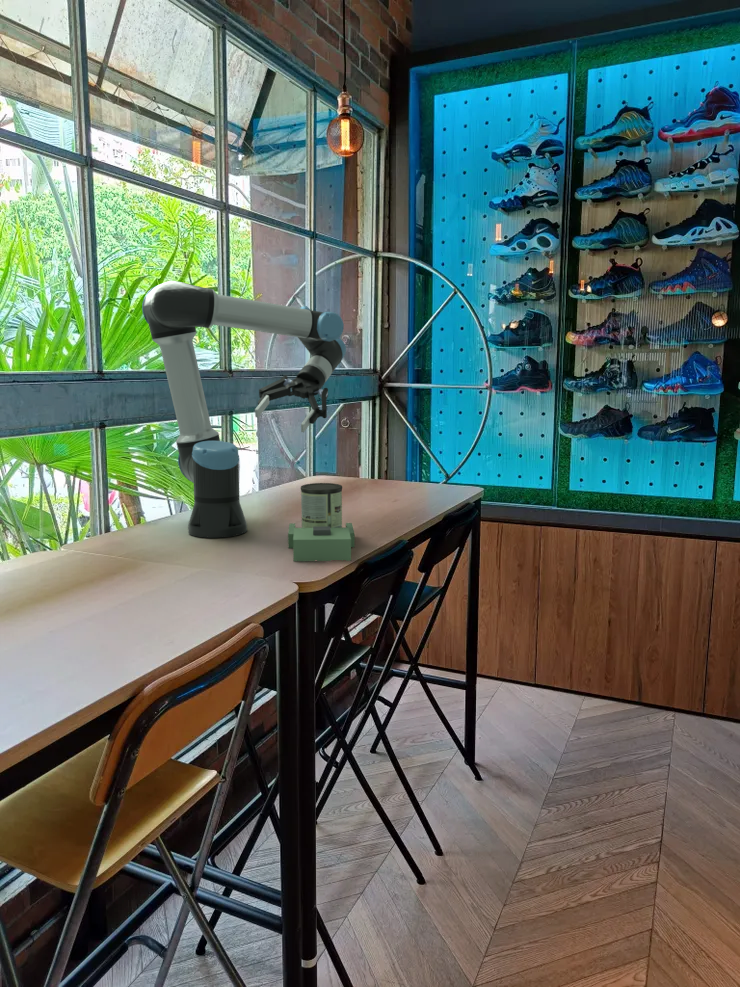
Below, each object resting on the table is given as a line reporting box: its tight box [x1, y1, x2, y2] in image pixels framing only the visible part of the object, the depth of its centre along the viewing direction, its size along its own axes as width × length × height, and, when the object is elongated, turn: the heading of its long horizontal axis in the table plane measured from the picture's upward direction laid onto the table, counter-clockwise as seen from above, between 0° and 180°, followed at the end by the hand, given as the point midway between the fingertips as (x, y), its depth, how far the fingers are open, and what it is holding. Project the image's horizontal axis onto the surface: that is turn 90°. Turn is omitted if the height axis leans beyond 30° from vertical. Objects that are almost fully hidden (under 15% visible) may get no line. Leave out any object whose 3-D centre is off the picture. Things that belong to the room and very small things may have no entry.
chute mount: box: [287, 522, 356, 562], centre depth 178 cm, size 16×24×6 cm, turn 5°
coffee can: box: [300, 482, 343, 528], centre depth 184 cm, size 10×10×14 cm
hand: (279, 421), depth 195 cm, fingers open, 13 cm apart
